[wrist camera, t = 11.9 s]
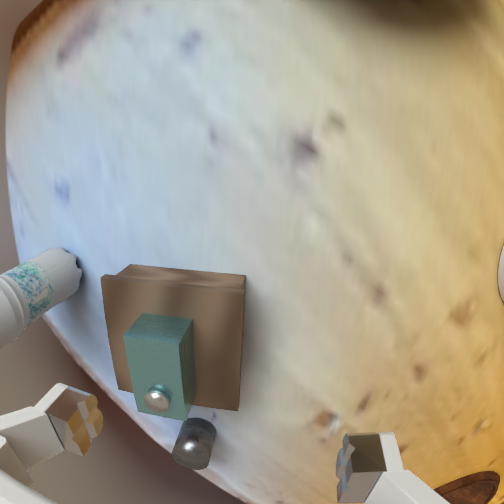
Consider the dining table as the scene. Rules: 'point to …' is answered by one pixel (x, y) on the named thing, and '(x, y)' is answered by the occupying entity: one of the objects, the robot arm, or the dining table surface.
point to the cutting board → (471, 488)
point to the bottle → (35, 290)
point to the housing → (162, 365)
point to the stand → (184, 306)
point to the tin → (194, 444)
